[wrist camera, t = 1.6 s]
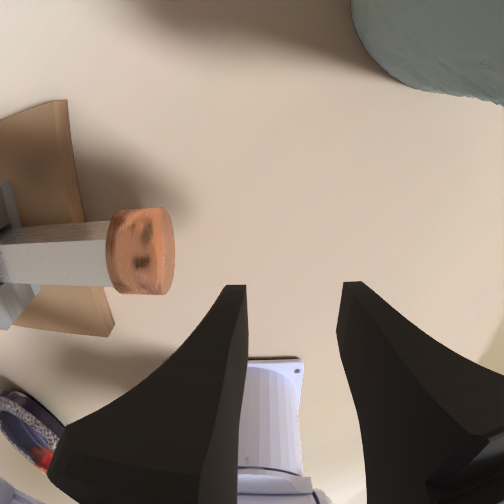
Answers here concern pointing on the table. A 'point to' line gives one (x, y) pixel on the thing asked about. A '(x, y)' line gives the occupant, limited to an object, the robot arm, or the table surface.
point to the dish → (29, 428)
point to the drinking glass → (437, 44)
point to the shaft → (94, 253)
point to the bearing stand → (44, 220)
